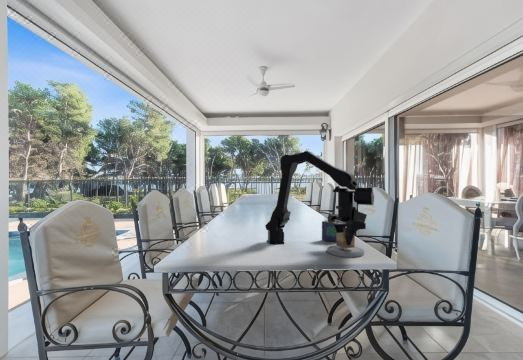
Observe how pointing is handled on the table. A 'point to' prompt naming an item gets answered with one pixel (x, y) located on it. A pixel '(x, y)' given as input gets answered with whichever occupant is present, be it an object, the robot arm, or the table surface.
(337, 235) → the walnut cube
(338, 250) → the slate plate
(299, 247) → the table surface
